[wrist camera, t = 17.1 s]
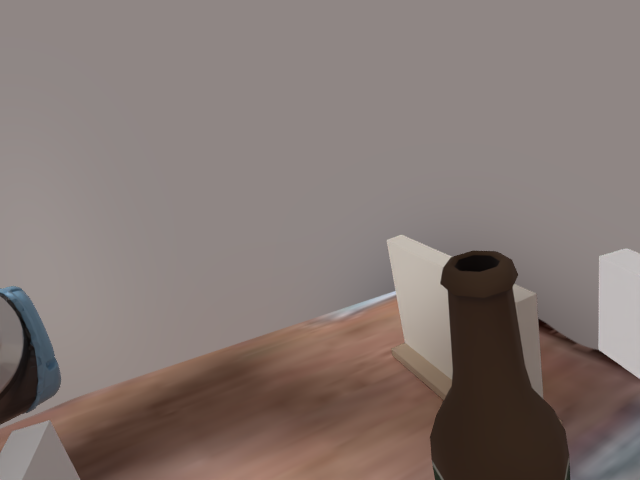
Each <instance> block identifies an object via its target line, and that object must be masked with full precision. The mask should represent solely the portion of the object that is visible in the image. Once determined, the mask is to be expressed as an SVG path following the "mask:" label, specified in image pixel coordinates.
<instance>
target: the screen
mask: <svg viewBox="0 0 640 480" xmlns="http://www.w3.org/2000/svg"><path fill="white" fill-rule="evenodd" d="M387 245H388V250H389V256H390V262H391V267H392V272H393V278H394V284H395V289H396V295H397V301H398V306H399V312H400V317H401V323H402V329H403V334H404V340H405V343H403V344H401V345H399V346H396V347H394V348H392V355H393V356H394V357H395V358H396V359H397V360H398V361H399V362H401V363H402V364H403V365H404V366H405V367H406V368H407V369H409V370H410V371H411V372H412V373H413V374H414V375H415V376H417V377H418V378H419V379H420V380H421V381H422V382H423V383H425V384H426V385H427V386H428V387H429V388H430V389H431V390H433V391H434V392H435V393H436V394H437V395H438V396H439V397H441V398H442V399H443V400H444V399H445V397H446V395H447V393H448V391H449V389H450V388H451V386H452V374H453V366H452V350H451V335H450V320H449V304H448V290H447V289H446V288H445V287H443V286H442V285H441V284H440V281H441V276H442V270H443V267H444V266H445V265H446V263H447V262H448V260H449V259H450V258H451V257H452V256H449V255H447V254H445V253H442V252H440V251H438V250H435V249H433V248H431V247H428V246H426V245H424V244H422V243H419V242H417V241H415V240H413V239H410V238H408V237H406V236H403V235H399V236H396V237H394V238H391V239H388V240H387ZM513 293H514V299H515V306H516V312H517V318H518V324H519V331H520V337H521V343H522V349H523V356H524V362H525V367H526V370H527V373H528V376H529V379H530V383H531V386H532V388H533V389H534V390H535V391H536V392H537V393H538V394H539V395H540V396H541V397H542V398H543V385H542V370H541V355H540V339H539V324H538V310H537V294H536V293H534V292H532V291H529V290H527V289H525V288H523V287H520V286H518V285H516V284H514V285H513ZM558 419H559V418H558ZM559 420H560V419H559ZM560 422H561V424H562V420H560Z"/></svg>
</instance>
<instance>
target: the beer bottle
mask: <svg viewBox="0 0 640 480" xmlns="http://www.w3.org/2000/svg"><path fill="white" fill-rule="evenodd" d="M517 276H518V273H517V271H516V269H515V266H514V264H513V262H512V260H511V259H509V258H508V257H506V256H504V255H502V254H501V253H498V252H495V251H471V252H467V253H464V254H461V255H457V256H454V257H451V258H450V259H449V260H448V262H447V263H446V265H445V266H444V267H443V270H442V276H441V281H440V284H441V285H442V286H443V287H445V288H446V289H447V290H448V304H449V320H450V335H451V350H452V366H453V374H452V386H451V388H450V389H449V391H448V393H447V395H446V397H445V399H444V401H443V403H442V405H441V407H440V409H439V411H438V413H437V415H436V418H435V422H434V425H433V429H432V432H431V436H430V441H431V456H432V464H433V470H434V475H435V480H570V466H569V452H568V445H567V439H566V433H565V430H564V428H563V426H562V424H561V422H560V420H559V419H558V417H557V415H556V413H555V411H554V410H553V409H552V407H551V406H550V405H549V404H548V403H547V402H546V401H545V400H544V399H543V398H542V397H541V396H540V395H539V394H538V393H537V392H536V391H535V390H534V389H533V388H532V386H531V383H530V379H529V376H528V373H527V370H526V367H525V362H524V356H523V349H522V343H521V337H520V331H519V324H518V318H517V312H516V306H515V299H514V293H513V285H514V283H515V281H516V278H517Z"/></svg>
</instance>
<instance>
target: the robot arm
mask: <svg viewBox="0 0 640 480" xmlns="http://www.w3.org/2000/svg"><path fill="white" fill-rule="evenodd" d="M598 336H599V337H598V339H599V340H598V341H599V343H598V350H600V351H601V352H603V353H604V354H605V355H607V356H608V357H610V358H611V359H612V360H614V361H615V362H617V363H618V364H619V365H621V366H622V367H624V368H625V369H626V370H628V371H629V372H631V373H632V374H633V375H635V376H636V377H638V378H639V379H640V254H639V253H637V252H635V251H632V250H630V249H627V248H625V249H622V250H619V251H615V252H612V253H609V254H605V255H602V256H600V257H599V335H598ZM54 356H55V355H54V351H53V347H52V344H51V342H50V339H49V337H48V334H47V332H46V329H45V327H44V325H43V323H42V321H41V318H40V317H39V314H38V312H37V310H36V308H35V307H34V305H33V303H32V301H31V300H30V298H29V296H27V295H26V293H25V292H24V291H23V290H22V289H21V288H19V287H16V286H11V287H6V288H3V289H1V288H0V424H3V423H4V422H7V421H9V420H11V419H12V418H15V417H16V416H19V415H20V414H24V413H28V412H30V411H32V410H34V409H35V408H36V406H37V405H39V404H41V403H43V402H44V401H46V400H48V399H49V398H51V397H52V396H54V395H55V394H56V393H57V391H58V390H59V387H60V384H61V375H60V370H59V367H58V363H57V361H56V359H55V357H54ZM0 480H80V478H79V476H78V474H77V472H76V470H75V468H74V466H73V464H72V462H71V460H70V458H69V456H68V454H67V452H66V451H65V449H64V447H63V445H62V443H61V441H60V439H59V437H58V435H57V433H56V431H55V429H54V427H53V425H52V423H51V421H50V420H49V421H45V422H42V423H39V424H35V425H32V426H29V427H25V428H22V429H19V430H15V431H12V433H11V435H10V436H9V438H8V440H7V442H6V444H5V445H4V447H3V449H2V451H1V453H0Z"/></svg>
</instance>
